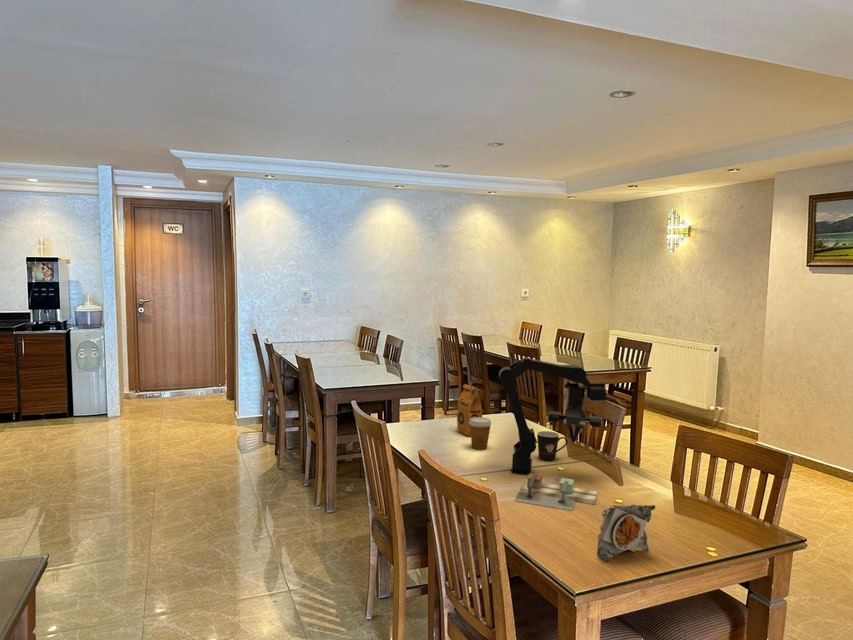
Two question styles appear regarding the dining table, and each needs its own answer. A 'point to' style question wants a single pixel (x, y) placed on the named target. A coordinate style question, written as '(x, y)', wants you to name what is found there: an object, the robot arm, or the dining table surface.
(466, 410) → the coffee package
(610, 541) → the meal
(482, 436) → the disposable coffee cup
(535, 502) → the bolt hole plate
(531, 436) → the robot arm
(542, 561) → the dining table surface
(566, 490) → the slider leg
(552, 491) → the board
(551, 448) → the coffee mug
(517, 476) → the dining table surface
